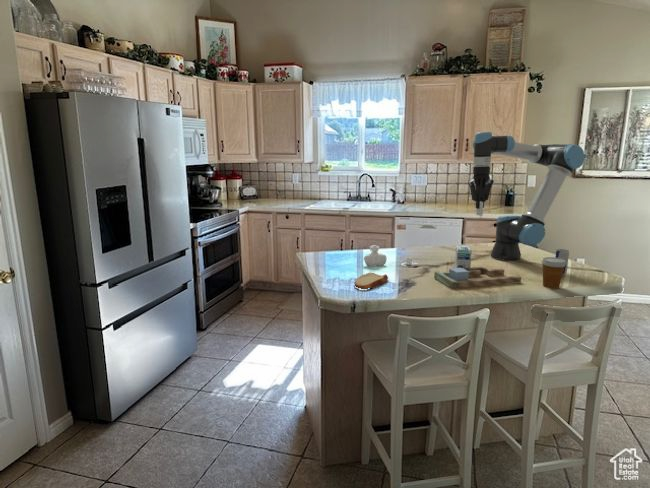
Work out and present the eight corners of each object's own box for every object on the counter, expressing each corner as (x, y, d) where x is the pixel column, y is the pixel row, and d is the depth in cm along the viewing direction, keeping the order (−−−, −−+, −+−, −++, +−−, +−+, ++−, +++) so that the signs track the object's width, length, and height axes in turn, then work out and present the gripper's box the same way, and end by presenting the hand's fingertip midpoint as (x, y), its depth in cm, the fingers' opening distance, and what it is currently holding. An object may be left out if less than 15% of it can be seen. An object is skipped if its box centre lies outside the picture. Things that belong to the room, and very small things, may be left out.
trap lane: (494, 270, 213) (495, 264, 212) (520, 282, 195) (521, 276, 194) (431, 275, 205) (431, 269, 204) (452, 288, 187) (452, 281, 186)
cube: (460, 280, 198) (461, 267, 197) (467, 284, 193) (468, 271, 191) (448, 281, 197) (449, 268, 196) (455, 285, 191) (456, 272, 190)
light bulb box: (470, 271, 211) (472, 250, 209) (456, 271, 213) (457, 249, 210) (468, 265, 222) (469, 245, 219) (454, 265, 223) (455, 244, 221)
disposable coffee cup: (540, 288, 186) (543, 261, 184) (537, 282, 195) (540, 256, 192) (565, 290, 183) (568, 263, 180) (561, 284, 192) (564, 257, 189)
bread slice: (358, 292, 184) (358, 283, 183) (346, 279, 201) (346, 271, 200) (398, 288, 188) (398, 280, 187) (383, 276, 205) (383, 269, 204)
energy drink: (550, 274, 206) (553, 249, 204) (558, 273, 209) (561, 248, 206) (560, 277, 202) (563, 252, 199) (568, 276, 204) (572, 251, 201)
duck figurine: (385, 268, 226) (382, 248, 230) (389, 262, 219) (385, 242, 223) (363, 269, 224) (360, 249, 228) (366, 264, 217) (363, 243, 221)
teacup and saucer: (420, 267, 220) (420, 259, 219) (404, 268, 219) (405, 260, 218) (413, 263, 229) (414, 255, 228) (399, 263, 227) (399, 256, 226)
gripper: (474, 166, 200) (472, 217, 206) (498, 165, 204) (495, 215, 210) (465, 166, 207) (463, 215, 213) (488, 164, 211) (485, 212, 217)
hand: (479, 215), depth 211 cm, fingers closed
